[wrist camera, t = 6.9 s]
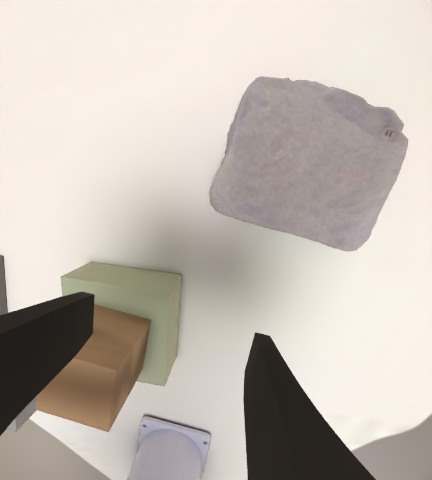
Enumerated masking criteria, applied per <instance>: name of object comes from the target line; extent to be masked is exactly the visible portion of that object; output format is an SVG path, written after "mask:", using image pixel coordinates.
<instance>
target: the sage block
mask: <svg viewBox="0 0 432 480" xmlns="http://www.w3.org/2000/svg"><path fill="white" fill-rule="evenodd" d="M181 280H182V275H181V274H174V273H167V272H160V271H153V270H146V269H139V268H132V267H124V266H117V265H110V264H103V263H96V262H90V263H88V264H86V265H84V266H82V267H80V268H78V269H76V270H74V271H72V272H70V273H68V274H66V275H64V276H62V277H61V284H62V295H63V296H66V295H70V294H73V293H77V292H86V293H91V294H95V298H94V304H96V305H99V306H103V307H107V308H110V309H114V310H117V311H121V312H125V313H128V314H132V315H136V316H139V317H143V318H146V319H150V320H151V323H150V329H149V335H148V341H147V347H146V353H145V359H144V365H143V369H142V371H141V373H140V375H139V377H138V379H137V380H136V381H139V382H144V383H149V384H155V385H160V386H165V384H166V382H167V379H168V376H169V374H170V371H171V369H172V366H173V364H174V361H175V358H176V356H177V343H178V327H179V312H180V296H181Z"/></svg>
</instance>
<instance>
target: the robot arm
mask: <svg viewBox="0 0 432 480" xmlns="http://www.w3.org/2000/svg"><path fill="white" fill-rule="evenodd" d="M94 298H95V294H91V293H86V292H77V293H73V294H70V295H66V296H63V297H59V298H56V299H53V300H50V301H46V302H43V303H40V304H37V305H33V306H30V307H27V308H24V309H20V310H17V311H13V312H10V313H6V314H3V315H0V435H1V434H2V433H3V432H4V431H5V430H6V429H7V427H8V426H9V425H10V424H11V423H12V421H13V420H14V419H15V418H16V417H17V416H18V415H19V414H20V413H21V412H22V411H23V410H24V408H25V407H26V406H27V405H28V404H29V403H30V402H31V401H32V400H33V399H34V398H35V397H36V396H37V395H38V394H39V393H40V392H41V391H42V390H43V389H44V388H45V387H46V386H47V385H48V384H49V383H50V382H51V381H52V380H53V379H54V378H55V377H56V376H57V375H58V374H59V373H60V372H61V371H62V370H63V368H64V367H65V366H66V365H67V364H68V363H69V362H70V361H71V360H72V359H73V358H74V357H75V356H76V355H77V354H78V352H79V351H80V350H81V349H82V347H83V346H84V345H85V343H86V342H87V341H88V339H89V338H90V337H91V335H92V334H93V321H94ZM244 416H245V434H246V452H247V469H248V480H376V479H375V478H374V477H373V476H372V475H371V474H370V473H369V472H368V471H367V469H365V467H364V466H363V465H362V464H361V463H360V462H359V461H358V460H357V458H356V457H355V456H354V455H353V454H352V452H351V451H350V450H349V449H348V448H347V447H346V445H345V444H344V443H343V442H342V441H341V439H340V438H339V437H338V436H337V434H336V433H335V432H334V431H333V429H332V428H331V427H330V426H329V424H328V423H327V422H326V421H325V419H324V418H323V417H322V415H321V414H320V413H319V411H318V410H317V409H316V407H315V406H314V405H313V403H312V402H311V400H310V399H309V398H308V396H307V395H306V393H305V392H304V390H303V389H302V387H301V386H300V384H299V383H298V381H297V380H296V378H295V377H294V375H293V374H292V372H291V370H290V369H289V367H288V366H287V364H286V362H285V361H284V359H283V357H282V356H281V354H280V352H279V351H278V349H277V347H276V345H275V344H274V342H273V340H272V339H271V337H270V336H268V335H264V334H259V333H255V336H254V339H253V343H252V347H251V350H250V354H249V358H248V362H247V365H246V369H245V378H244ZM210 439H211V436H210V434H209V433H206V432H202V431H199V430H195V429H191V428H188V427H184V426H181V425H177V424H173V423H170V422H166V421H162V420H159V419H155V418H151V417H148V416H144V417H143V418H142V420H141V425H140V433H139V441H138V448H137V456H136V458H135V461H134V463H133V466H132V468H131V471H130V473H129V476H128V478H127V480H201V477H202V473H203V469H204V464H205V460H206V456H207V452H208V448H209V444H210Z"/></svg>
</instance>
